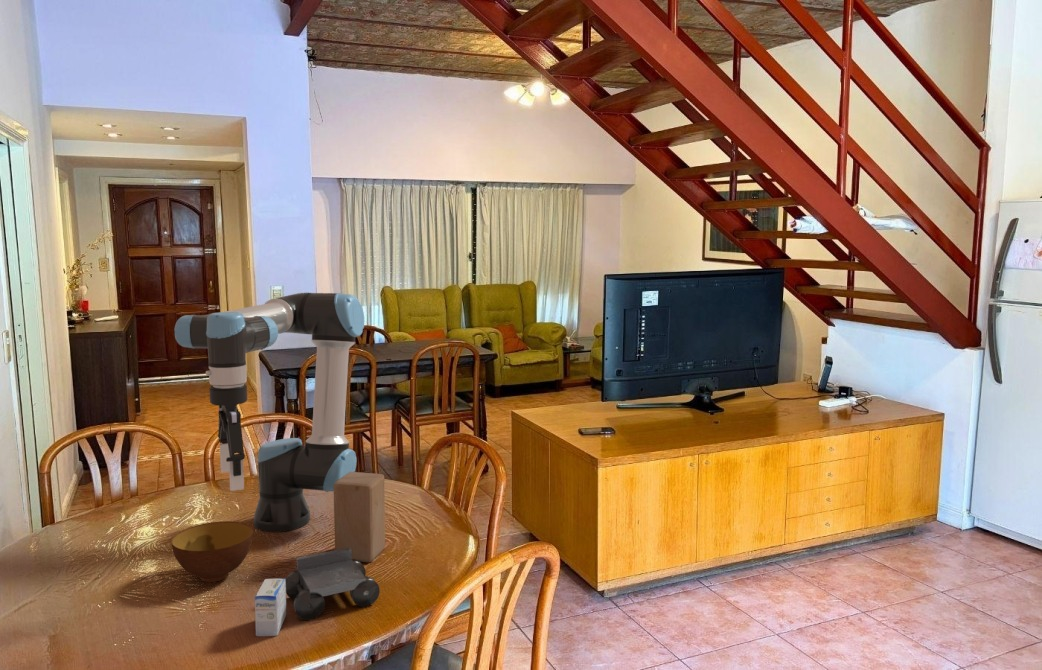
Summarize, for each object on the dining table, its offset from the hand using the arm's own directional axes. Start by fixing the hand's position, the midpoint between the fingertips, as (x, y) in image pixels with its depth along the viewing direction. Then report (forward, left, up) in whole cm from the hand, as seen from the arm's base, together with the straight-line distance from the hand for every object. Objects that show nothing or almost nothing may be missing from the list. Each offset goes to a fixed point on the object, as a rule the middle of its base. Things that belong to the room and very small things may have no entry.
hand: (232, 480), depth 163 cm
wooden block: (-9, +31, -27) cm, 42 cm away
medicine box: (+17, +4, -27) cm, 32 cm away
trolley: (+12, +18, -27) cm, 34 cm away
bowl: (-13, -3, -27) cm, 30 cm away
